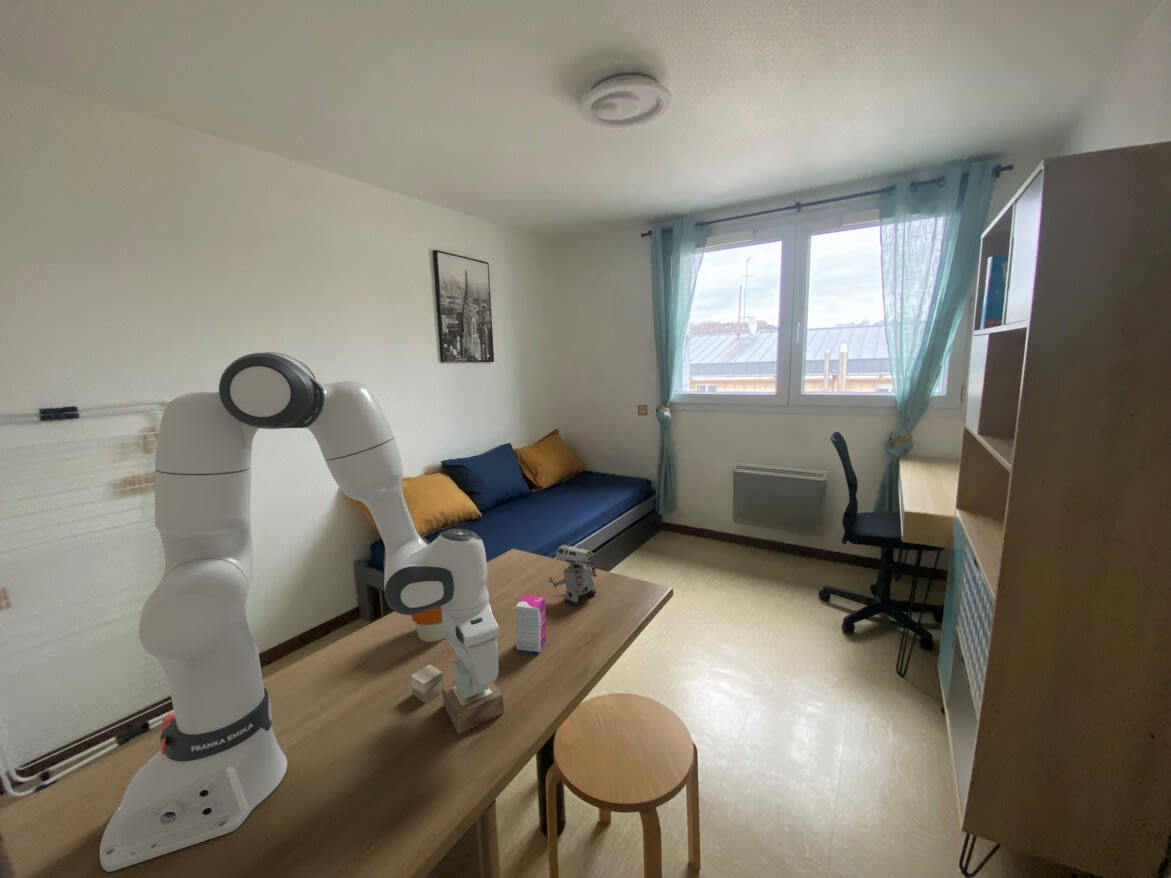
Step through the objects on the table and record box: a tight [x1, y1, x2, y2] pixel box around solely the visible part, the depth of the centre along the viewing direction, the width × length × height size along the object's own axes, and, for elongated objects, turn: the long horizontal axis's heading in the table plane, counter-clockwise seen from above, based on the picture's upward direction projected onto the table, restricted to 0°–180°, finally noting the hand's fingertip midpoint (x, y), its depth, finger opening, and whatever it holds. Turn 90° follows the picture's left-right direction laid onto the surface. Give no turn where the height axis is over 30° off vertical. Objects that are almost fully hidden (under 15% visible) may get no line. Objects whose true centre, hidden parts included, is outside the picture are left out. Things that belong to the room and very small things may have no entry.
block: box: [410, 664, 444, 704], centre depth 96 cm, size 4×4×4 cm
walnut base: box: [442, 681, 505, 735], centre depth 91 cm, size 9×9×4 cm
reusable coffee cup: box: [410, 606, 447, 643], centre depth 118 cm, size 13×13×15 cm
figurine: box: [548, 544, 597, 607], centre depth 134 cm, size 9×12×15 cm
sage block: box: [452, 659, 489, 700], centre depth 91 cm, size 5×5×5 cm
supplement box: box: [515, 595, 547, 655], centre depth 111 cm, size 6×6×12 cm
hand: (470, 679), depth 91 cm, fingers closed on sage block, 5 cm apart
